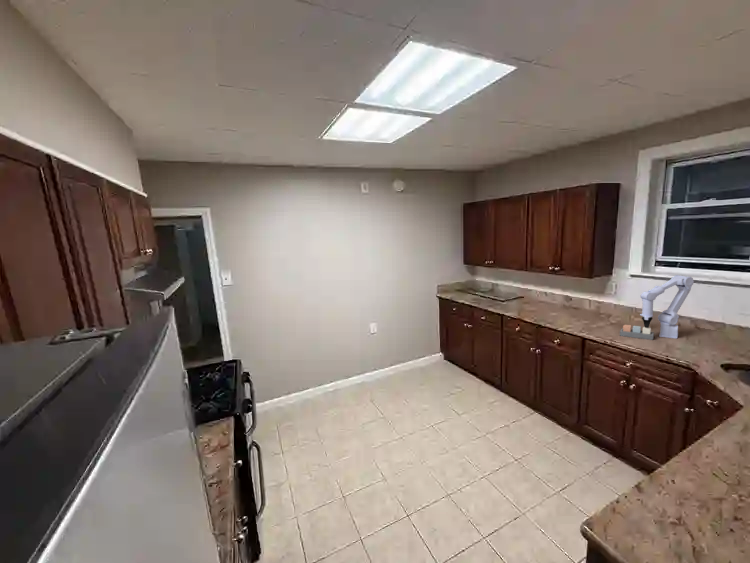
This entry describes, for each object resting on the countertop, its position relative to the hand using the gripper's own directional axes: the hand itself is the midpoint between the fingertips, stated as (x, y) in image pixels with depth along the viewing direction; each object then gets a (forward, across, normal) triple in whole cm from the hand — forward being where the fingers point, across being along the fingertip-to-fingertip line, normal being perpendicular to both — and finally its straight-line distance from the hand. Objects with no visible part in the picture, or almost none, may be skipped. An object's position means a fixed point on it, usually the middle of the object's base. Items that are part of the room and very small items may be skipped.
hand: (646, 327), depth 231 cm
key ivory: (+4, 0, 0) cm, 4 cm away
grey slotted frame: (+7, 0, -6) cm, 9 cm away
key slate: (+4, 0, -6) cm, 7 cm away
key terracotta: (+4, 0, -11) cm, 12 cm away
